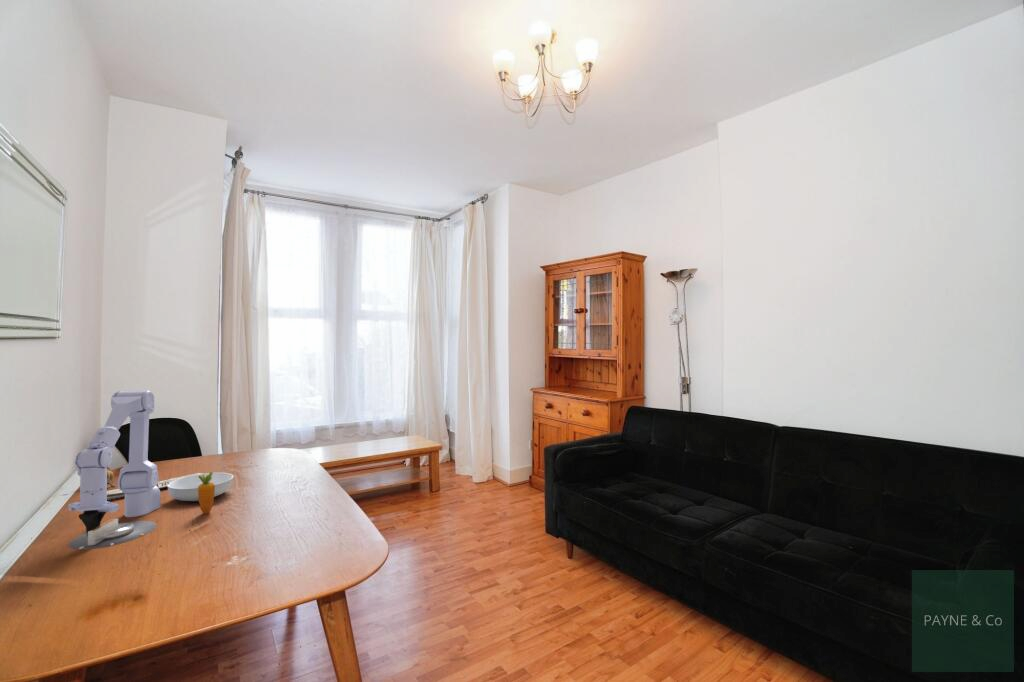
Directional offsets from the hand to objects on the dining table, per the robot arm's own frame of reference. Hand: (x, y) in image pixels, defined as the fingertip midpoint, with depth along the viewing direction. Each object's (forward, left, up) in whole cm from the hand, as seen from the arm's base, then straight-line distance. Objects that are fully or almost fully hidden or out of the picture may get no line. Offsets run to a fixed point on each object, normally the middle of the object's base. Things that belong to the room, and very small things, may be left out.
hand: (93, 535), depth 128 cm
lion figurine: (-50, -54, -4) cm, 73 cm away
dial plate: (-6, 0, -3) cm, 7 cm away
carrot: (-24, +15, -4) cm, 29 cm away
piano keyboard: (-49, -30, -4) cm, 57 cm away
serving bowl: (-41, -2, -4) cm, 41 cm away
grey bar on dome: (-4, +1, -2) cm, 5 cm away
